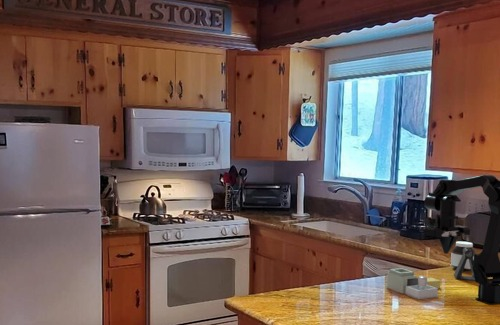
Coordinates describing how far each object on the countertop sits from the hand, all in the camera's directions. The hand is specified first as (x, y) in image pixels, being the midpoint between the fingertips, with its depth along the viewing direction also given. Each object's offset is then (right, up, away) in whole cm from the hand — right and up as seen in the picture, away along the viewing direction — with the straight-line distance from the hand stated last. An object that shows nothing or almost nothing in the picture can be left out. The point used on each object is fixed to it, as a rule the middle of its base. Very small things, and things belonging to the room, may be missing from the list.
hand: (445, 253), depth 191 cm
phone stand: (+13, -12, +12) cm, 21 cm away
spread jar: (+19, -12, +30) cm, 38 cm away
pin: (-15, -11, -16) cm, 25 cm away
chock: (-8, -12, -3) cm, 15 cm away
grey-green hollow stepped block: (-18, -12, -8) cm, 23 cm away
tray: (-15, -12, -16) cm, 25 cm away
